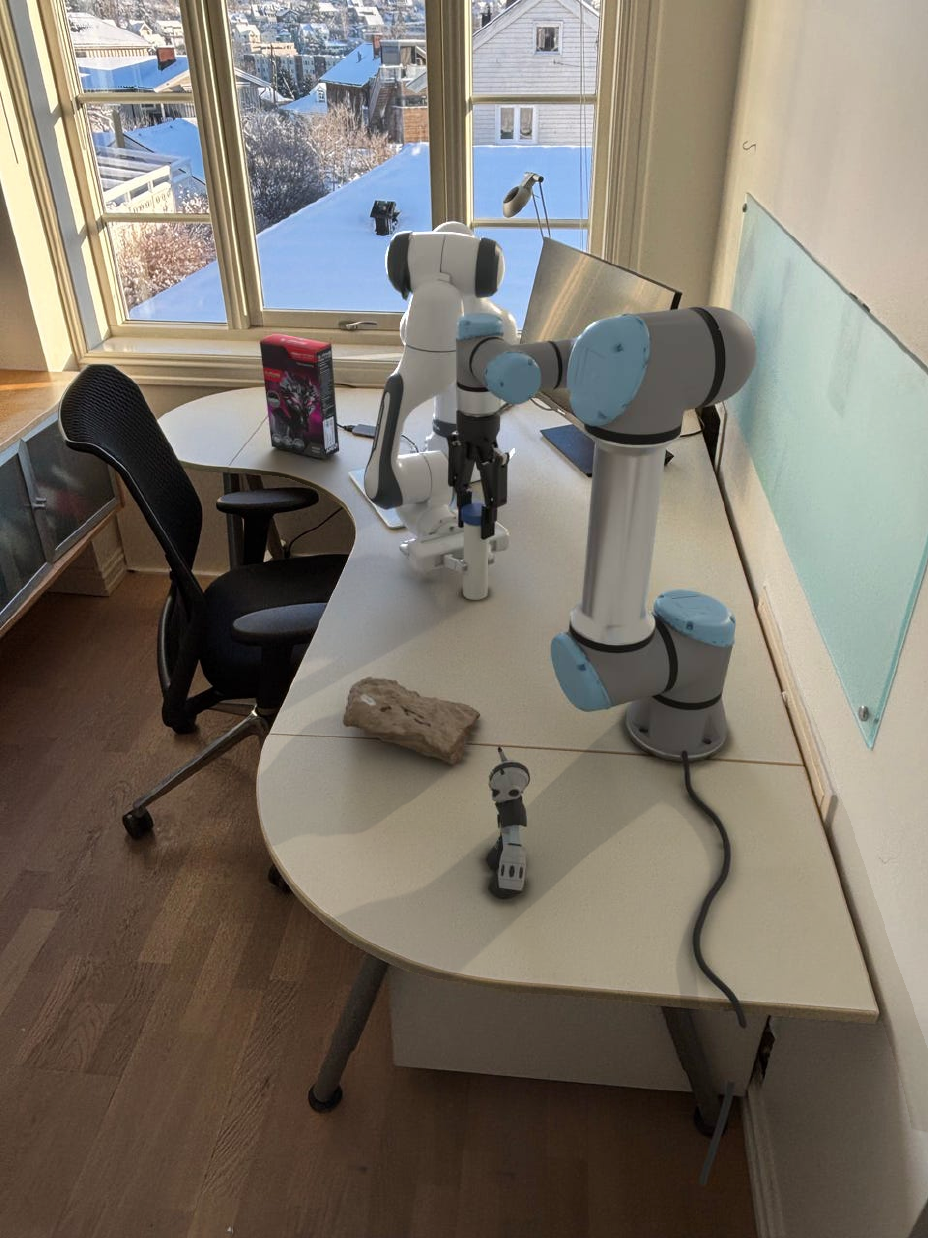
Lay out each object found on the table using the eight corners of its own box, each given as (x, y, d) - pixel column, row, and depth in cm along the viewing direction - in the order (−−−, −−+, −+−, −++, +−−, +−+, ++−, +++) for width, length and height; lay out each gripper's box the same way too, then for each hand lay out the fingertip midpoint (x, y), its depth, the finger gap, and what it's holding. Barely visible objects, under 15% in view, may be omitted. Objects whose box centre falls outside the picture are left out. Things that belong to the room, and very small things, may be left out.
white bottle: (460, 598, 174) (461, 516, 165) (465, 585, 178) (466, 505, 168) (485, 601, 174) (487, 519, 164) (489, 588, 177) (491, 507, 168)
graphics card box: (269, 447, 232) (256, 339, 216) (286, 438, 237) (274, 331, 221) (325, 461, 225) (316, 350, 210) (341, 451, 230) (333, 342, 215)
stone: (316, 734, 137) (323, 699, 134) (354, 694, 150) (361, 661, 148) (449, 783, 133) (458, 749, 131) (475, 737, 146) (484, 705, 144)
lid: (494, 524, 165) (494, 515, 164) (463, 526, 164) (463, 517, 163) (488, 510, 170) (488, 501, 168) (458, 512, 169) (458, 503, 168)
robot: (531, 936, 111) (540, 818, 100) (491, 937, 111) (496, 820, 100) (516, 817, 127) (522, 704, 116) (481, 818, 127) (484, 705, 116)
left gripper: (395, 530, 175) (428, 563, 165) (488, 507, 184) (524, 537, 174) (396, 559, 179) (428, 592, 169) (487, 535, 187) (523, 566, 177)
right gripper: (533, 418, 152) (526, 542, 165) (457, 389, 163) (457, 507, 176) (501, 430, 148) (497, 556, 161) (425, 399, 159) (427, 520, 172)
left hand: (478, 564), depth 171 cm, fingers closed on white bottle, 4 cm apart
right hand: (476, 530), depth 168 cm, fingers closed on lid, 5 cm apart
